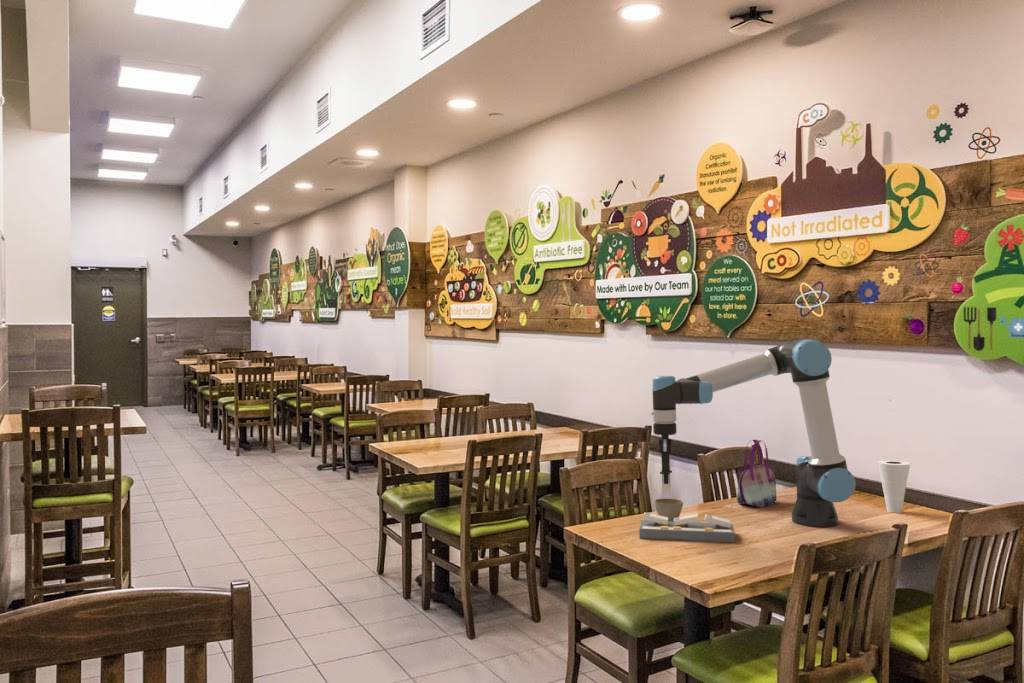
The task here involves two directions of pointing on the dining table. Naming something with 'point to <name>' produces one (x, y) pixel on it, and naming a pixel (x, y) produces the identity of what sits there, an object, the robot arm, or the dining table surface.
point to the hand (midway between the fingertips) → (666, 492)
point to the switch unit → (686, 531)
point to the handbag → (757, 481)
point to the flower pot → (668, 508)
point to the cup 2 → (894, 483)
